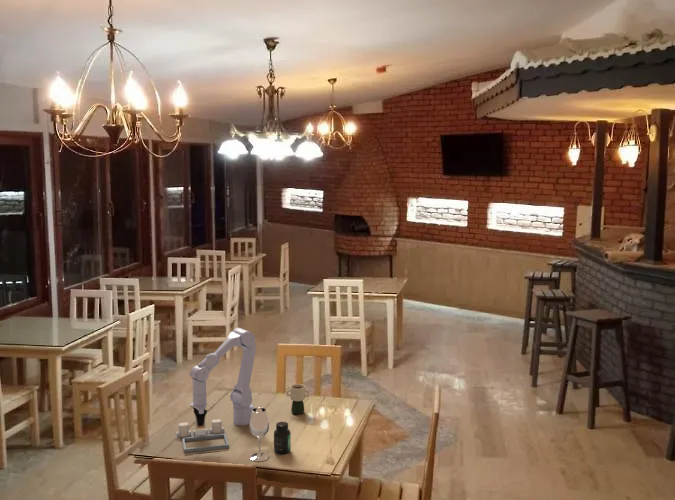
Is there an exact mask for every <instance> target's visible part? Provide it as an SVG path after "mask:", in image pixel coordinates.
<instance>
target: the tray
mask: <svg viewBox="0 0 675 500" xmlns="http://www.w3.org/2000/svg"><path fill="white" fill-rule="evenodd" d="M220 438H221V439H223V440H224V444H223V443H222V444H217V445H215V444H214V445H207V446H198V447H197V446H196V447H186V442H195V441H204V440H212V439H220ZM181 439H182V441H181V442H182V448H183V454H185V453H187V454H186V456H193V455H194V452H199V453H195V455H200V454H201V455H202V454H203V452H204V454H209V453H210V454H211V453H212V450H213V453H218V452H219V453H220V452H221V449H225V450H222V452H226V451H227V452H228V451H229V448H230V445H229V441H228V438H227V434H216V435H206V436H197V437H187V438H181ZM214 450H216V451H214ZM217 450H218V451H217ZM205 451H206V452H205ZM207 451H208V452H207Z"/></svg>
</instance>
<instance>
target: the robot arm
mask: <svg viewBox="0 0 675 500" xmlns="http://www.w3.org/2000/svg"><path fill="white" fill-rule="evenodd" d="M233 347H241V348H242V350H243V352H242V357H241V363H240V368H239V372H238V378H237V383H236V384H235V385H234V386H233V388H232V391H231V393H230V396H229V398H230V401H231V402H232V407H233V408H232V409H233V411H232V412H233V413H232V416H233V424H234V425H235V426H247V425H250V418H251V413H252V409H254V408H255V406H254V404H252V402H253V397H252V396H253V395H252V393H253V391H252V388H251V387H250V383H251V380H252V373H253V368H254V362H255V357H256V351H257V345H256V336H255V335H254V333H253V332H252V331H249V330H246V329H244V328H241V327H235V328H234V329H233V330H232V331H231V332H230V333H229V335H228V337H227V338H226V339H225V340H224V341H223V343H221V345H219V347H218V348H217V349H216V350H215V351H214V352H210V353H208V354H206V355H205V358H203V360H201V362H199V363H198V364H197V365H194V366H193V367H192V368H191V370H190V372H189V376H190V377H191V379H192V402H191V403H190V404H189V406H190V407H192V408H193V414H194V416H195V415H196V418H197V423H198V426H203V424H204V419H205V420H206V416H207V413H208V409H207V405H208V402H207V379H208V378H209V374H210V373H211V371H213V369H214V368H215V367H217V365H218V364H220V360H221V358H222V357H223V356H225V354H227V352H229V351H230V350H231V349H232V348H233Z"/></svg>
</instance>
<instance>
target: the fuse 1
mask: <svg viewBox="0 0 675 500" xmlns="http://www.w3.org/2000/svg"><path fill="white" fill-rule="evenodd" d="M189 427H190V425H189V421H188V422H178V433H179V437H186V436H189V430H190V429H189Z"/></svg>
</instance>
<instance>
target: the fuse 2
mask: <svg viewBox="0 0 675 500" xmlns="http://www.w3.org/2000/svg"><path fill="white" fill-rule="evenodd" d="M222 424H223V423H222V419H221V418H218V419H211V430H212V434H215V433H222V427H223V426H222Z"/></svg>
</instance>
